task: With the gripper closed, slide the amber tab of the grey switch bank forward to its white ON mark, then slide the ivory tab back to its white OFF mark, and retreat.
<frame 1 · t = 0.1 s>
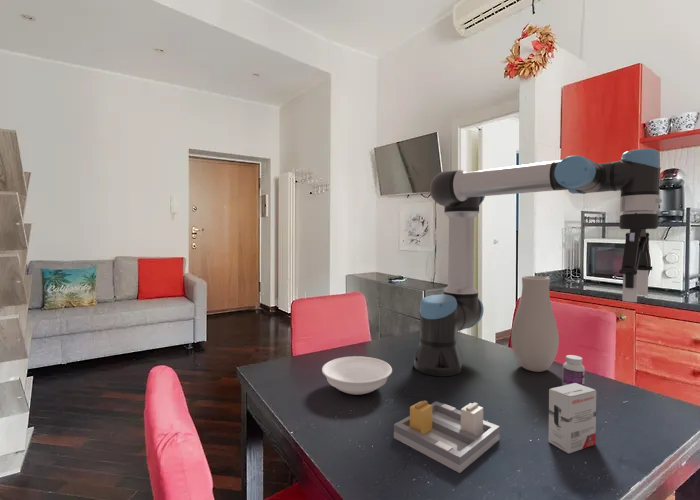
hand: (635, 298, 92), 28 cm above the table, fingers open, 13 cm apart
ivory tab: (471, 419, 79), point 5 cm above the table, slide at 8.0 cm
bowl: (357, 390, 104), on the table
vase: (533, 369, 120), on the table
ink box: (571, 444, 78), on the table
switch bank: (446, 438, 79), on the table
amber tab: (421, 417, 80), point 5 cm above the table, slide at 0.0 cm
pill bottle: (573, 391, 103), on the table
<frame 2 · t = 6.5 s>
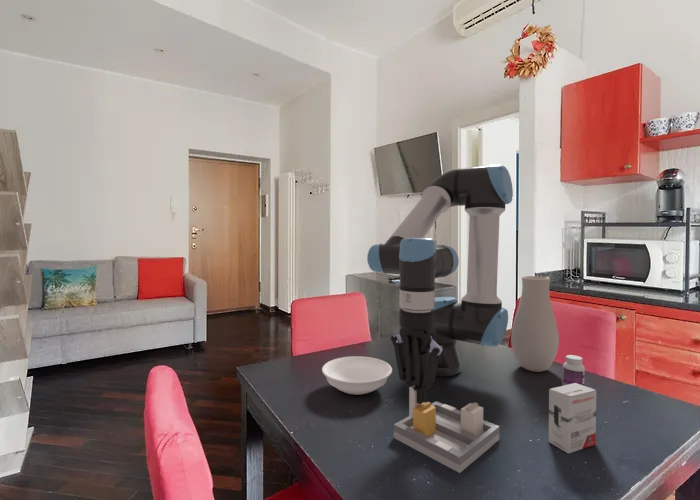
hand: (415, 415, 81), 5 cm above the table, fingers closed
amber tab: (424, 418, 79), point 5 cm above the table, slide at 0.9 cm, touching gripper
everything else where it was.
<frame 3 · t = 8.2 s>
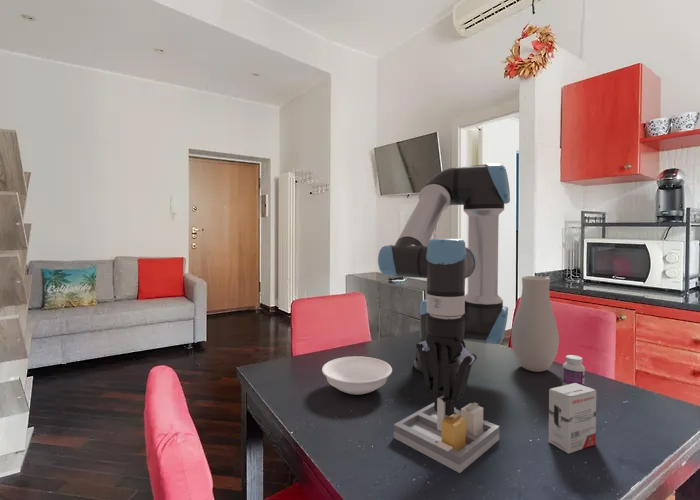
hand: (443, 428, 75), 4 cm above the table, fingers closed
amber tab: (453, 431, 74), point 5 cm above the table, slide at 8.0 cm, touching gripper
everything else where it was.
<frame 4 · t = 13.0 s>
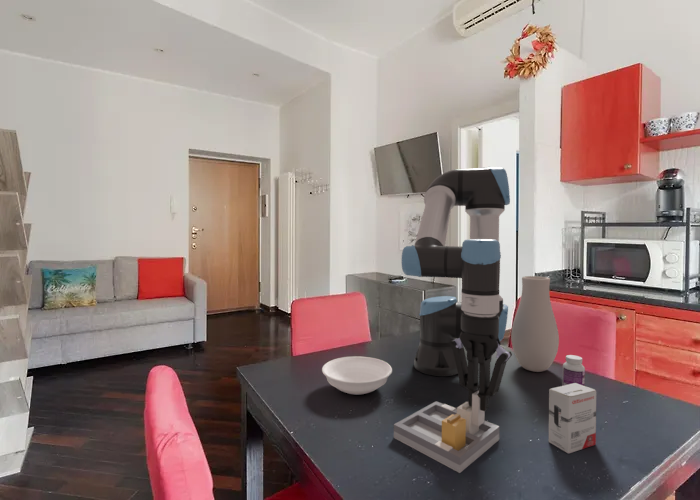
hand: (478, 422, 78), 4 cm above the table, fingers closed
ivory tab: (468, 417, 79), point 5 cm above the table, slide at 7.1 cm, touching gripper
amber tab: (453, 431, 74), point 5 cm above the table, slide at 8.0 cm
everything else where it was.
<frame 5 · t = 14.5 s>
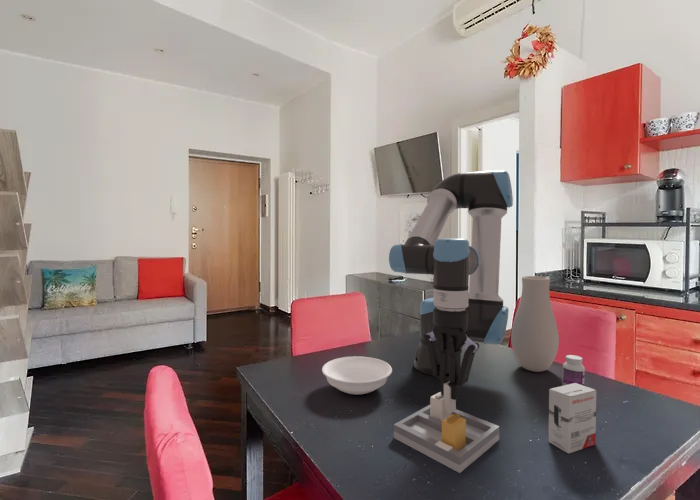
hand: (449, 411, 83), 4 cm above the table, fingers closed
ivory tab: (440, 406, 84), point 5 cm above the table, slide at 0.2 cm, touching gripper
everything else where it was.
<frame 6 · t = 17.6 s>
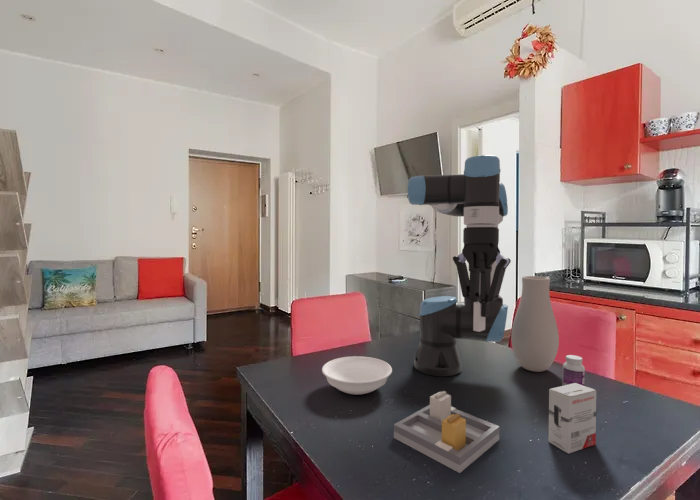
hand: (479, 329, 84), 22 cm above the table, fingers closed
ivory tab: (440, 406, 84), point 5 cm above the table, slide at 0.1 cm
everything else where it was.
at the end: amber tab slide at 8.0 cm; ivory tab slide at 0.1 cm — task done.
